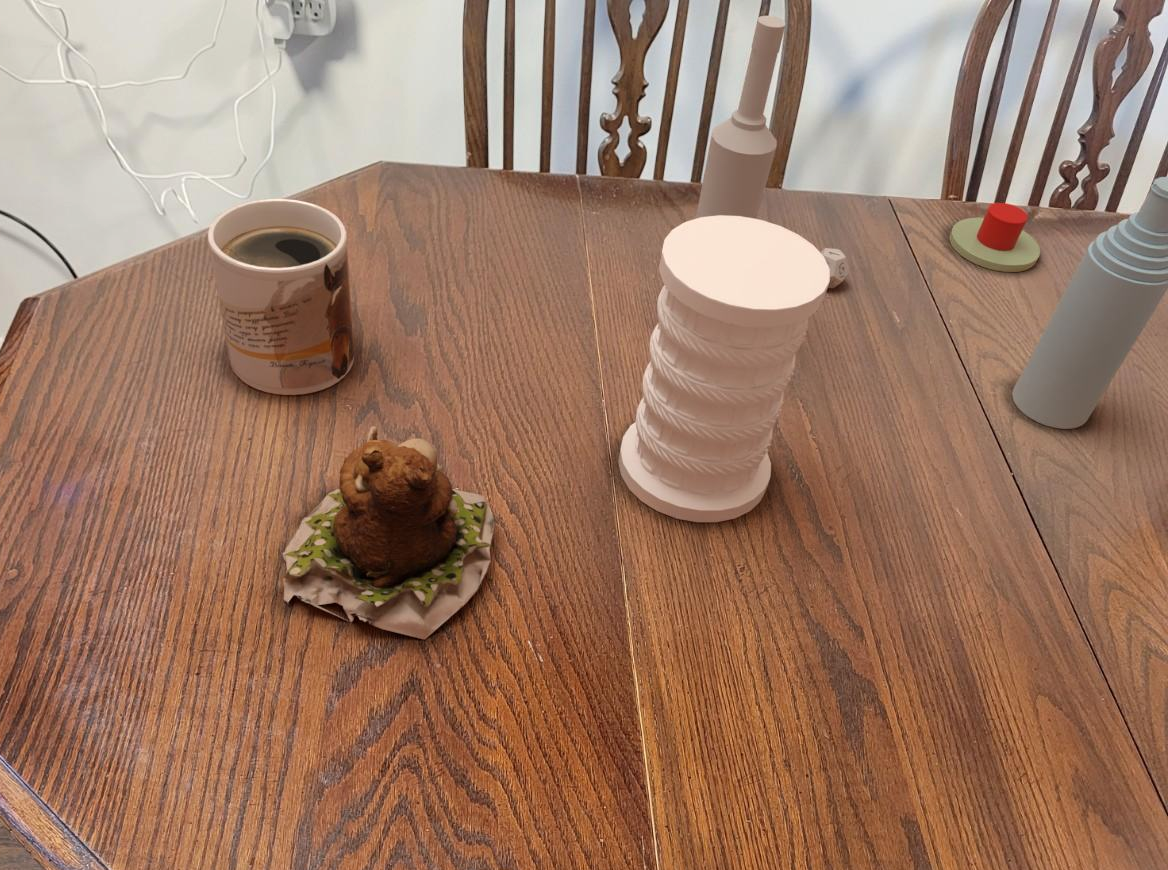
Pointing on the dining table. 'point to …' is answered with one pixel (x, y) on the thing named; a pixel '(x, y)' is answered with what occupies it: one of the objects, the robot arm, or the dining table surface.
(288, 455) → the dining table surface
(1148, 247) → the bottle
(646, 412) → the decorative container
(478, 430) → the dining table surface
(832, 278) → the game die
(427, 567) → the bear figurine
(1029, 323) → the dining table surface
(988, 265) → the coaster
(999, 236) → the cap
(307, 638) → the dining table surface
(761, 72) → the bottle
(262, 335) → the mug
